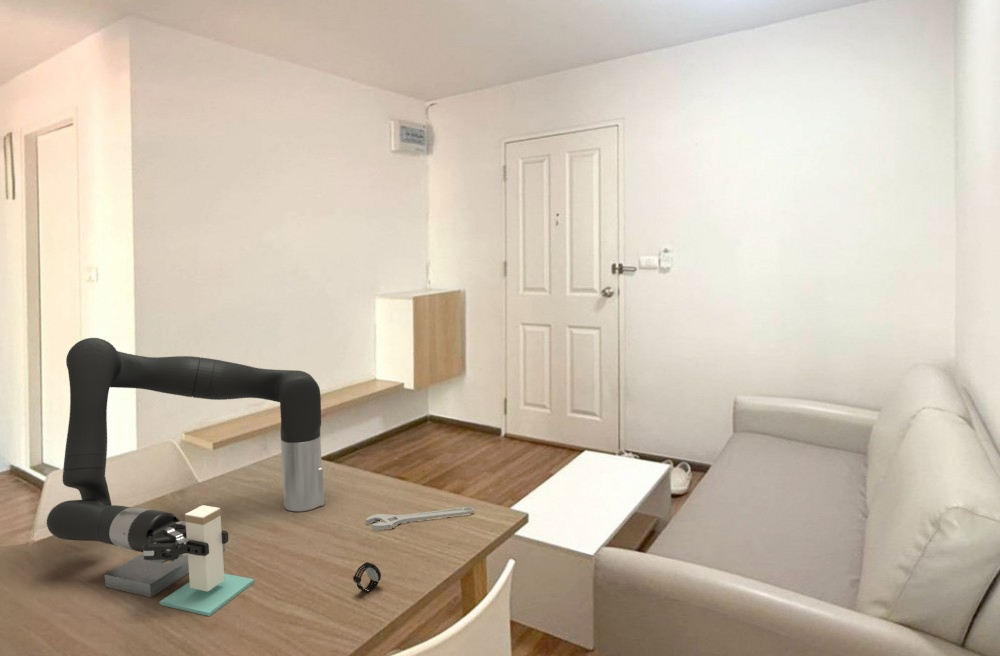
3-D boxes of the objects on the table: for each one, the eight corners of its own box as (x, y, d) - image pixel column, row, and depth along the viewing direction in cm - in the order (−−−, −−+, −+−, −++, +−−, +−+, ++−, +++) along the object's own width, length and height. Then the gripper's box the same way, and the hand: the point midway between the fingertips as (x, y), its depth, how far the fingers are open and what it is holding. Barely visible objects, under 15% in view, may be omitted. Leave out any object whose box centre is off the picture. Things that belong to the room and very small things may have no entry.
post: (207, 576, 110) (202, 504, 108) (224, 579, 109) (220, 507, 107) (189, 587, 106) (184, 514, 104) (207, 591, 105) (202, 517, 103)
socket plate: (183, 542, 127) (183, 531, 126) (225, 549, 123) (224, 538, 123) (105, 587, 110) (104, 574, 109) (151, 597, 106) (149, 584, 106)
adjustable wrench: (472, 512, 142) (472, 505, 142) (477, 524, 136) (477, 516, 136) (367, 521, 137) (367, 514, 137) (367, 534, 131) (366, 526, 131)
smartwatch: (383, 590, 108) (382, 565, 108) (356, 599, 105) (355, 573, 105) (375, 580, 112) (374, 555, 111) (349, 589, 109) (348, 563, 108)
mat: (207, 572, 114) (207, 570, 114) (254, 582, 111) (254, 579, 111) (159, 604, 104) (159, 601, 104) (209, 616, 101) (209, 612, 101)
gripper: (107, 527, 103) (183, 542, 98) (174, 496, 117) (244, 507, 112) (110, 567, 104) (186, 584, 99) (176, 532, 118) (246, 544, 113)
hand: (217, 543), depth 105 cm, fingers closed on post, 4 cm apart
